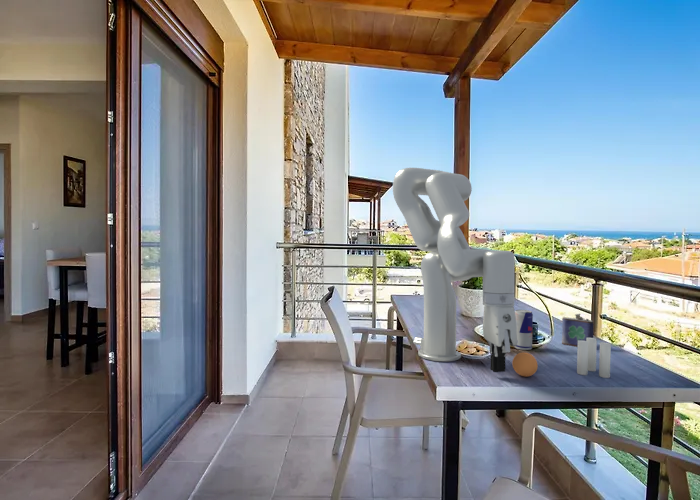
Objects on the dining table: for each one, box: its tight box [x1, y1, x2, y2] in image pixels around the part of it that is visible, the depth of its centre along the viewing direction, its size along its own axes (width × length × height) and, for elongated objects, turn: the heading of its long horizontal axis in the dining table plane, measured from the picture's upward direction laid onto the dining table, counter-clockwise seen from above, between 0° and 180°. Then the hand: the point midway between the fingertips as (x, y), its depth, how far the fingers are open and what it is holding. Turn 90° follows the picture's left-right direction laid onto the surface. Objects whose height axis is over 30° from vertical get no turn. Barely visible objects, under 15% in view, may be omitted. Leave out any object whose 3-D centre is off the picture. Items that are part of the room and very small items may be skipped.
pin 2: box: [598, 342, 612, 379], centre depth 104 cm, size 2×2×8 cm
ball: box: [511, 352, 538, 377], centre depth 104 cm, size 6×6×6 cm
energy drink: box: [513, 309, 534, 351], centre depth 129 cm, size 5×5×12 cm
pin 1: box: [586, 337, 598, 372], centre depth 109 cm, size 2×2×8 cm
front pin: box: [576, 340, 589, 376], centre depth 106 cm, size 2×2×8 cm
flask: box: [561, 313, 595, 348], centre depth 132 cm, size 9×3×11 cm, turn 45°
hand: (497, 370), depth 103 cm, fingers closed
